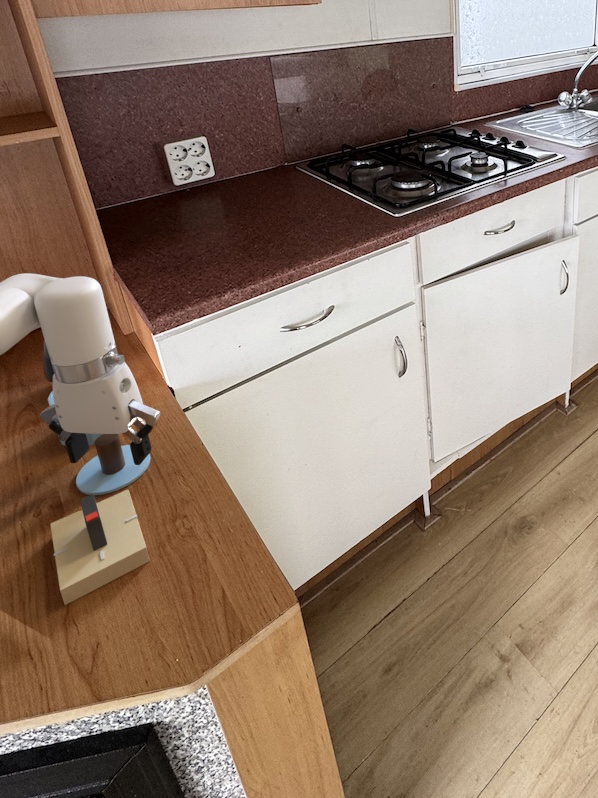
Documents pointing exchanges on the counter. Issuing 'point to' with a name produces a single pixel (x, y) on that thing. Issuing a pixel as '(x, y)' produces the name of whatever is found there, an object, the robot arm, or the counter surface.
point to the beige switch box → (105, 564)
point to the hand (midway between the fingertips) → (111, 457)
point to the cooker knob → (93, 522)
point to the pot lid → (109, 467)
